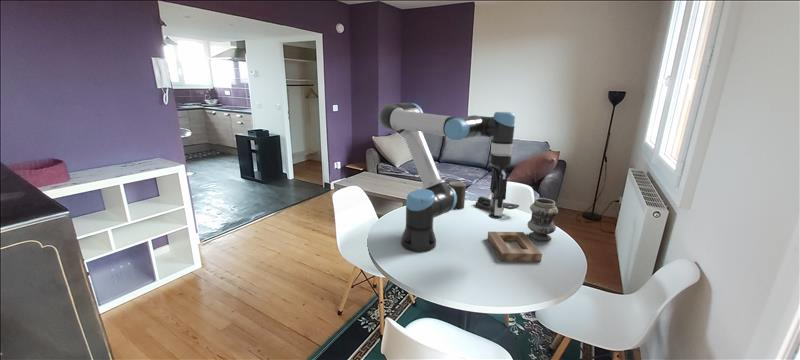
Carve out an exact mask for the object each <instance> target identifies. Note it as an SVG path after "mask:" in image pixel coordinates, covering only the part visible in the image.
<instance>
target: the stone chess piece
mask: <svg viewBox="0 0 800 360" xmlns="http://www.w3.org/2000/svg"><path fill="white" fill-rule="evenodd" d="M495 198H497V190H494V196H493V198H492V199H493V204H492V206H489V207H488V208H489V211H488V212H489V213H490V214H488V217H489V218H490V219H494V220H500V219H502V218H503V215H502V216H501V215H494V212H495ZM504 210H505V208H502V213H503V211H504Z"/></svg>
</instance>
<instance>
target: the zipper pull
mask: <svg viewBox="0 0 800 360" xmlns="http://www.w3.org/2000/svg"><path fill="white" fill-rule="evenodd" d="M490 205H491V198H489V197H485V196H479V197H478V198H477V201H476V202H475V207H476V208H478V209H481V210H484V211H488V212H490V211H489V208H488V207H489V206H490ZM519 207H520V205H519V204H515V203H514V204H513V203H508V202H503V208H504V209H506V210H515V209H518V208H519Z"/></svg>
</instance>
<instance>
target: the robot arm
mask: <svg viewBox="0 0 800 360" xmlns="http://www.w3.org/2000/svg"><path fill="white" fill-rule="evenodd" d="M378 119H379V122H380V125H381V126H382V127H383V128H385V129H387V130H389V131H397V132H398V133H399V136H400V137H401V138H404V140H405V143H406V145H407V148H408V151H409V153H410V156H411V158H412V161H413V163H414V164H415V168H416V170H417V173H418V176H419V177H420V180H421V184H422V188H420V189H415V190H412V191H410V192H409V193H408V194H407V196H406V202H405V228H404V230H403V233H402V235H401V239H400V244H401V246H402V248H404V249H406V250H408V251H411V252H417V253H425V252H429V251H432V250H433V249H434V248H436V246H437V239H436V234H435V231H434V219H435V218H437V217H439V216H441V215H444V214H447V213H449V212H450V211H452V210H454V209H453V208H454V207H455V205H456V202H457V195H456V192H455V190H454V189H453V188H451V187H450V186H449V185H448V184H447V181H446V180H445V179H443V178H441V175H440V173H439V170H438V168H437V166H436V163H435V160H434V158H433V155H432V152H431V150H430V148H429V145H428V143H427V141H426V138H425V136H424V134H430V135H436V136H442V137H447V138H449V140H451V141H462V140H464V139H469V138H475V137H487V138H491V146H490V153H491V154H490V159H489V160H490V161H489V164H491V165H492V166H491V178H490V186H489V187H490V188H489V190H490V192H491V194H490V195H491V196H490V199H491V205H490V206H492V204H493V199H492V198H493V196H494V190H497V198H495V212H494V215H501V216H502V217H503V212H502V208H503V203H504V201H505V200H506V197H507V186H508V177H509V174H508V173H507V170H506V167H507V166H510V165H511V164H512V153H513V148H514V147H515V146H514V135H515V126H516V114H515V113H514V112H510V111H495V112H494V113H493V116H485V115H484V116H482V115H467V116H466V117H457V116H451V115H443V114H441V115H439V114H433V113H426V112H424V111H423V110H422V108H421V106H419V105H418V103H417V104H416V103H414V102H403V103H400V102H399V103H388V104H386V105H384V106H383V107H382V108H381V109H380V111H379V115H378Z"/></svg>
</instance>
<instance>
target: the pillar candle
mask: <svg viewBox="0 0 800 360" xmlns="http://www.w3.org/2000/svg"><path fill="white" fill-rule="evenodd" d="M448 186H450V187H451V188H453V189H454V190H455V192H456V195H457V202H456V205H455V207H454V208H453V209H452V210H459V211H460V210H463V209H465V199H466V189H467V184H466V183H465V182H461V181H450V182H449V183H448Z"/></svg>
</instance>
